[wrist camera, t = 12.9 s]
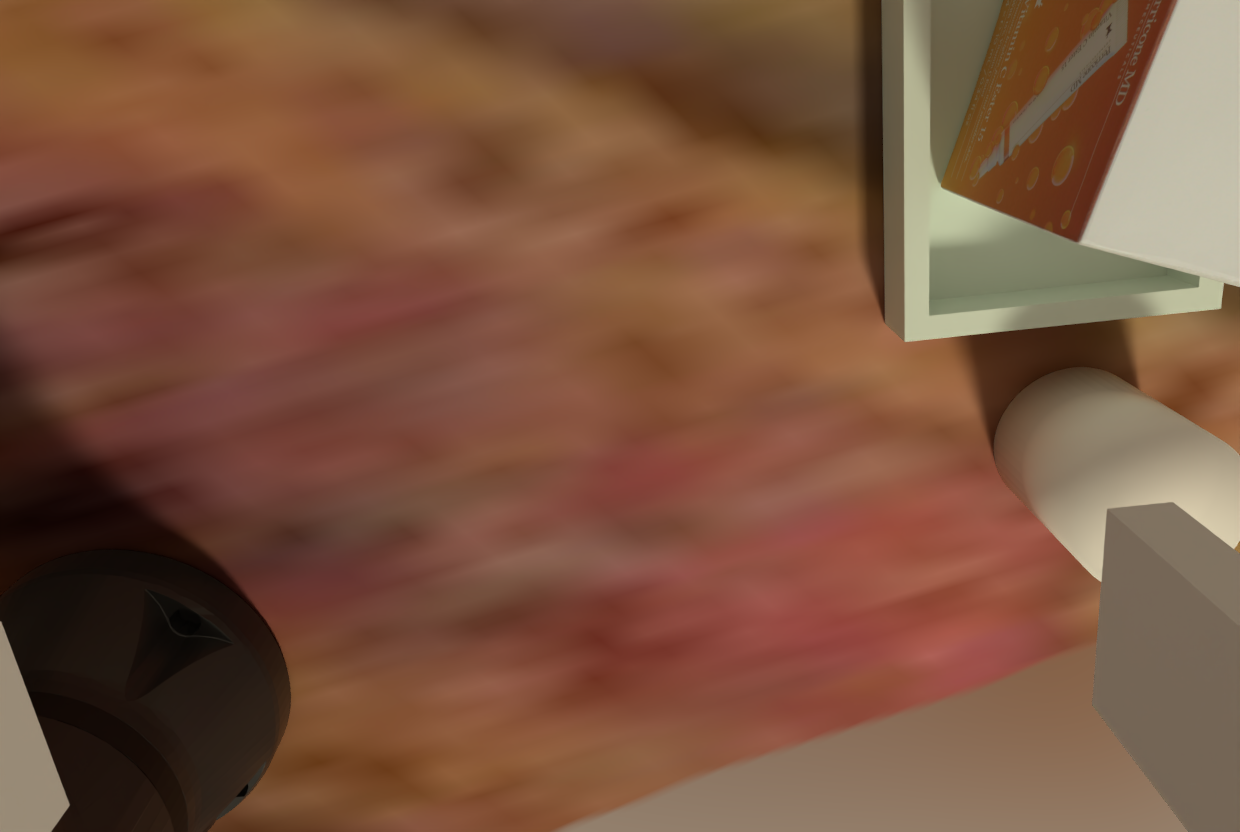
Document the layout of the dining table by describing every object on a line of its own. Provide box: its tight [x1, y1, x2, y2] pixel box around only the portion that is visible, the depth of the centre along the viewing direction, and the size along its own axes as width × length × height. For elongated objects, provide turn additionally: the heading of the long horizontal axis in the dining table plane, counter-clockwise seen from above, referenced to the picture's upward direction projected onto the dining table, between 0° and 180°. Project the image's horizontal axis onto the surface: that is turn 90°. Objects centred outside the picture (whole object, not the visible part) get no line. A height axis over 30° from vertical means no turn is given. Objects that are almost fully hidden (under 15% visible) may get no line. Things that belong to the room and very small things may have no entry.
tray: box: [881, 0, 1224, 342], centre depth 39 cm, size 13×17×3 cm
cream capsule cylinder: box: [994, 367, 1240, 581], centre depth 42 cm, size 7×7×8 cm
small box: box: [941, 0, 1240, 287], centre depth 34 cm, size 8×6×13 cm
